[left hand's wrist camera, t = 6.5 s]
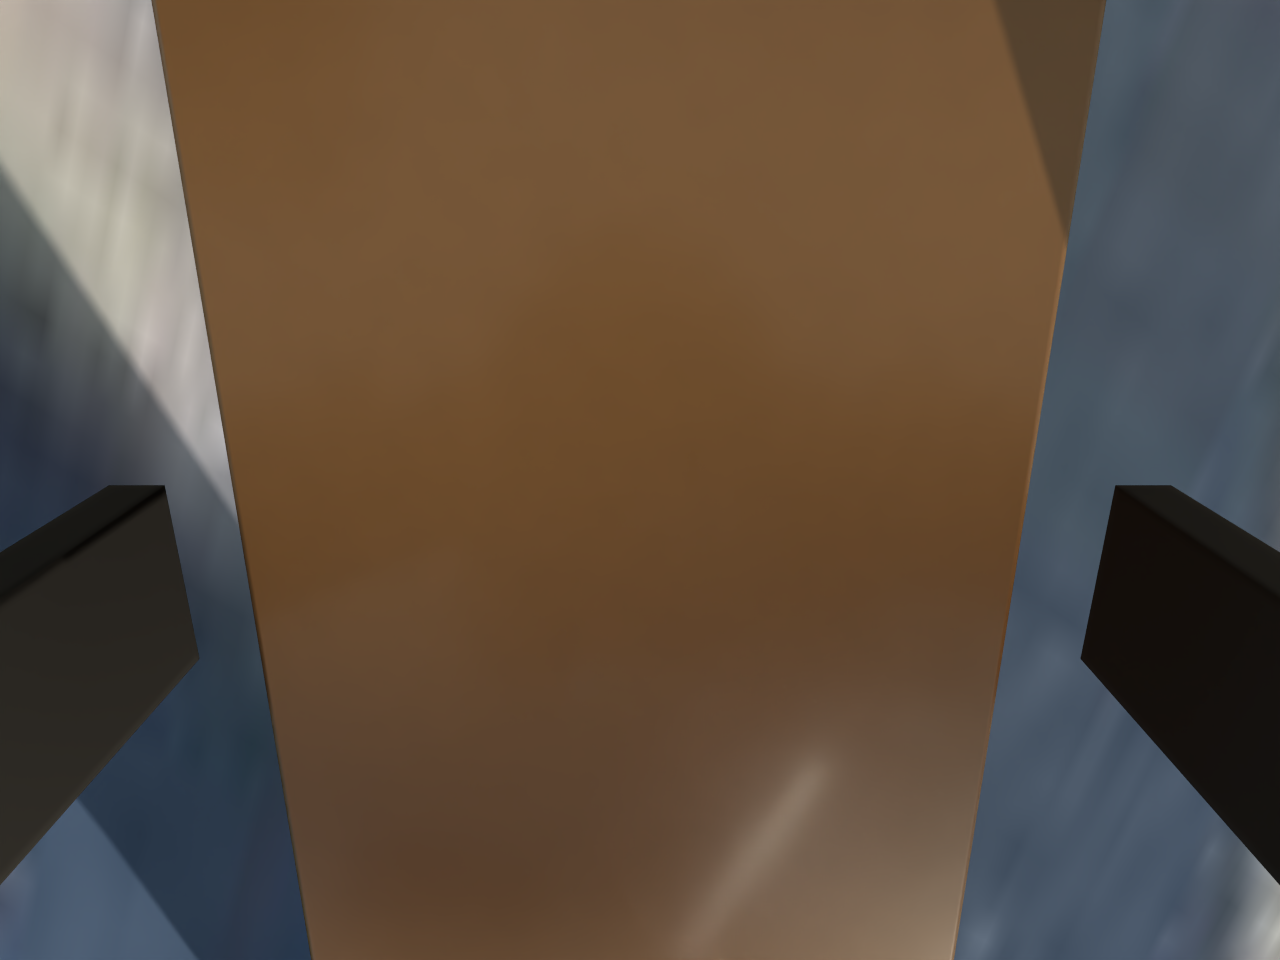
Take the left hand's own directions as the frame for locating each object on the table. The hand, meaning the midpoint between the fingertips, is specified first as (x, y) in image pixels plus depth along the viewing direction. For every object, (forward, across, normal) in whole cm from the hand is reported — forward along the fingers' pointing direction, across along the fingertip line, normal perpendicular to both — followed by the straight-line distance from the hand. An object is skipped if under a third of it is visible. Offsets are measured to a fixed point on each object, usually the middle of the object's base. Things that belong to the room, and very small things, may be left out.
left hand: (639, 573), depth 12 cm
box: (+8, 0, -10) cm, 13 cm away
